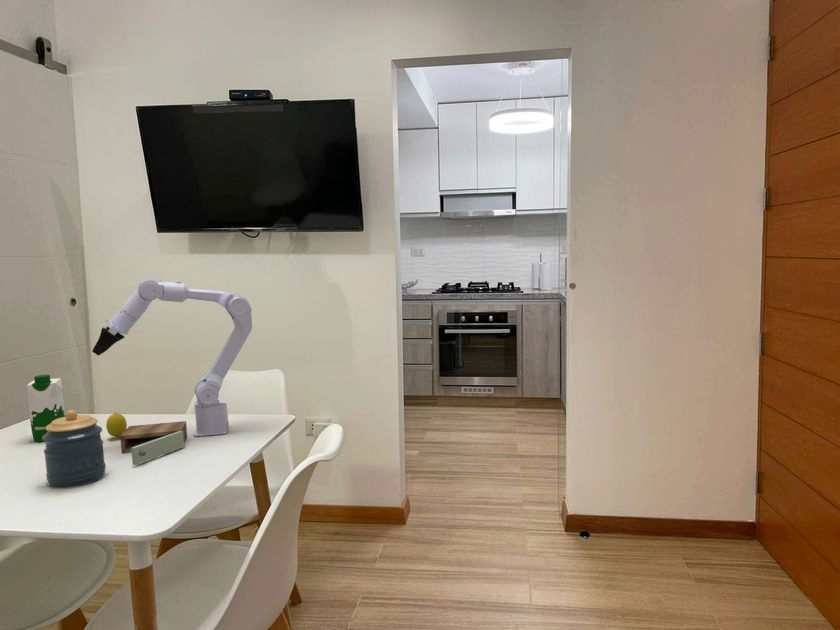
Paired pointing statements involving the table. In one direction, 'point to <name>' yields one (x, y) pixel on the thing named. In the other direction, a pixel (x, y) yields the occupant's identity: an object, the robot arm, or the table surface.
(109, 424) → the lemon
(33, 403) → the milk carton
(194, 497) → the table surface
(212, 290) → the robot arm
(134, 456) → the door
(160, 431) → the cabinet
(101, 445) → the canister
